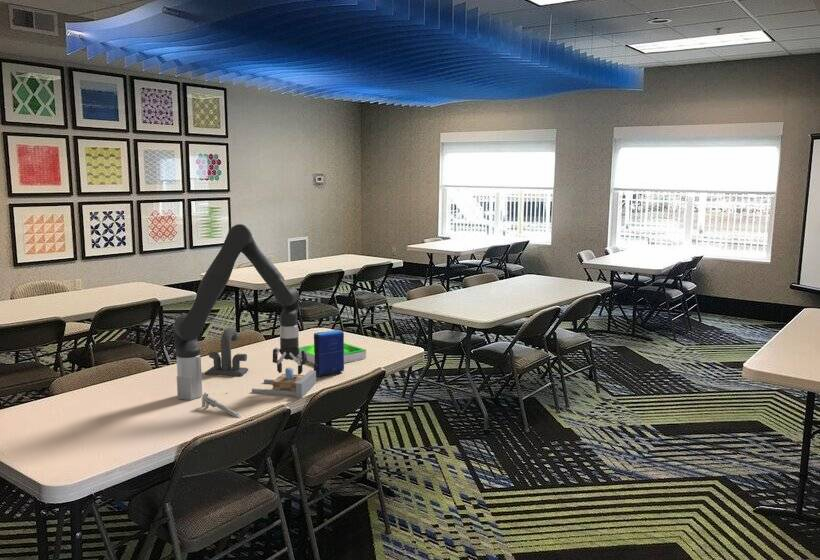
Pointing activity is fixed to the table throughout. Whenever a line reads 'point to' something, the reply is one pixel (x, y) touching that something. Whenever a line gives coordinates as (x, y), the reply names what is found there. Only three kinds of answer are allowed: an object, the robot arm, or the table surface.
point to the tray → (349, 353)
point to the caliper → (217, 405)
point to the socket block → (286, 383)
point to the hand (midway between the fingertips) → (290, 373)
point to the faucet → (227, 357)
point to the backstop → (301, 386)
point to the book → (329, 352)
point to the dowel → (289, 373)
